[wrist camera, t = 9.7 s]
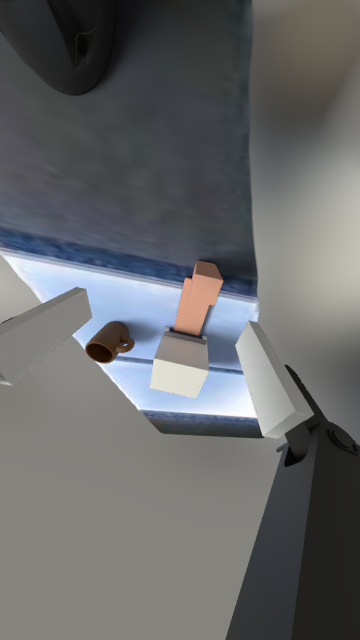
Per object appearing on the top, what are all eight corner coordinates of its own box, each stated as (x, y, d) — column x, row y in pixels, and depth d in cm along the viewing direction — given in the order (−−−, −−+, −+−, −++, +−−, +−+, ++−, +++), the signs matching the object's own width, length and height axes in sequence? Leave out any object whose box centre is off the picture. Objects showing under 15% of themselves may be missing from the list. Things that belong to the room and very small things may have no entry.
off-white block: (165, 324, 40) (154, 355, 30) (207, 333, 40) (210, 368, 30) (160, 353, 46) (149, 387, 36) (196, 361, 46) (195, 398, 36)
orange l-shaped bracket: (189, 258, 30) (184, 271, 20) (222, 265, 30) (233, 283, 20) (174, 327, 40) (165, 360, 30) (198, 333, 40) (198, 368, 30)
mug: (138, 318, 40) (123, 339, 32) (146, 339, 44) (134, 363, 36) (101, 321, 42) (78, 342, 34) (111, 341, 46) (93, 364, 38)
